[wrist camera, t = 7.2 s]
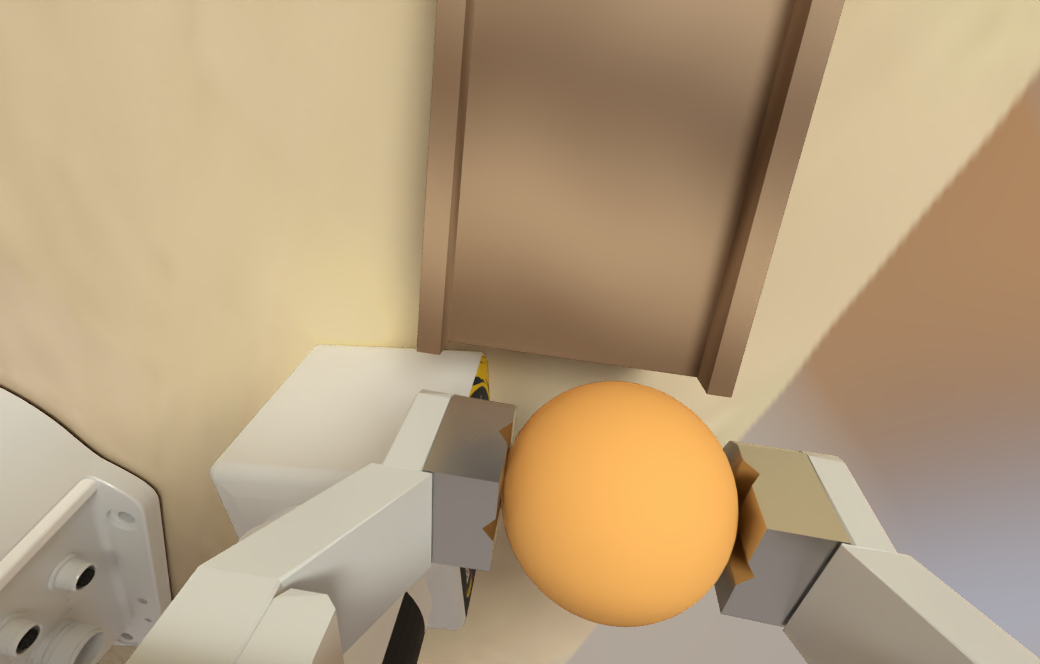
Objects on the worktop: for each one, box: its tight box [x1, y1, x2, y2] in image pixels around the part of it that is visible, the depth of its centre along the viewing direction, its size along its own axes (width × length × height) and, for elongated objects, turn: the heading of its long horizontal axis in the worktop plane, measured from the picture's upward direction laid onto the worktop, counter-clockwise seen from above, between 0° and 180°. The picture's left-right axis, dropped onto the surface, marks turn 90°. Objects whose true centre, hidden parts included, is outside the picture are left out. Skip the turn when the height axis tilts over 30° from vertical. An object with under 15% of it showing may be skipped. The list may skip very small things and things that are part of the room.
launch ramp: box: [417, 0, 845, 397], centre depth 12 cm, size 12×8×6 cm, turn 174°
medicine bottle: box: [210, 344, 490, 664], centre depth 17 cm, size 7×7×12 cm
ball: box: [501, 381, 739, 627], centre depth 7 cm, size 3×3×3 cm
